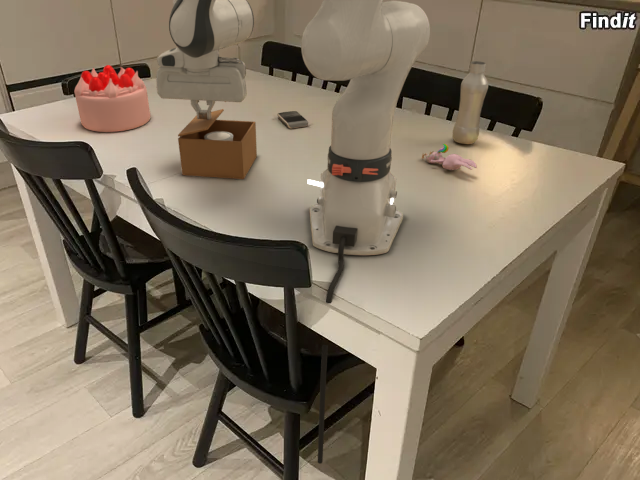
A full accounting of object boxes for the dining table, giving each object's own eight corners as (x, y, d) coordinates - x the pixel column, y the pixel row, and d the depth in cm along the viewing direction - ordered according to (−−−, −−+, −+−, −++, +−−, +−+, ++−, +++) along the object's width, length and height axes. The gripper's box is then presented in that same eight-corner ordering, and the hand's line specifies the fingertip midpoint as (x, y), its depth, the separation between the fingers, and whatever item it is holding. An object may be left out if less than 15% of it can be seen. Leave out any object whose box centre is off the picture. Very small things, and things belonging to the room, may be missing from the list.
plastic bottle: (459, 136, 150) (472, 58, 139) (482, 142, 146) (497, 62, 135) (446, 142, 147) (458, 63, 136) (469, 149, 143) (484, 67, 132)
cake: (161, 123, 161) (154, 72, 153) (93, 138, 152) (82, 85, 144) (135, 106, 175) (128, 58, 167) (71, 119, 165) (60, 69, 157)
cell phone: (296, 115, 166) (296, 110, 165) (309, 127, 158) (309, 122, 157) (276, 117, 165) (276, 112, 164) (288, 129, 156) (288, 124, 155)
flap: (207, 129, 124) (206, 128, 124) (178, 136, 126) (177, 135, 126) (223, 110, 135) (223, 108, 135) (196, 116, 137) (196, 115, 137)
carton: (243, 179, 129) (241, 142, 124) (182, 175, 131) (177, 138, 126) (256, 156, 140) (255, 121, 135) (200, 153, 142) (196, 118, 137)
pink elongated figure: (416, 167, 137) (464, 179, 125) (416, 142, 134) (465, 152, 122) (435, 161, 140) (483, 172, 128) (435, 137, 137) (485, 146, 125)
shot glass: (240, 161, 136) (239, 134, 132) (223, 171, 132) (221, 143, 128) (218, 156, 139) (216, 128, 136) (200, 165, 135) (197, 137, 131)
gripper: (248, 54, 123) (251, 116, 131) (160, 51, 126) (167, 112, 134) (241, 61, 118) (244, 125, 126) (149, 58, 121) (158, 120, 129)
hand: (204, 118), depth 130 cm, fingers closed
